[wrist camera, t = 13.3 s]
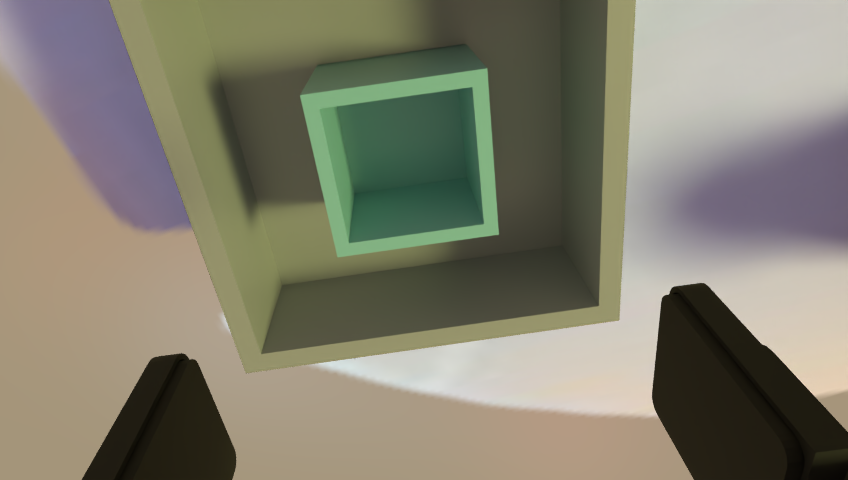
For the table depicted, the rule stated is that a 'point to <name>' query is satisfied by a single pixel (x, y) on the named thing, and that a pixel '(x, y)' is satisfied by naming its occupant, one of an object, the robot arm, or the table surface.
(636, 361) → the table surface
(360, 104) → the box
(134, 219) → the table surface
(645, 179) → the table surface
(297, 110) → the big crate
